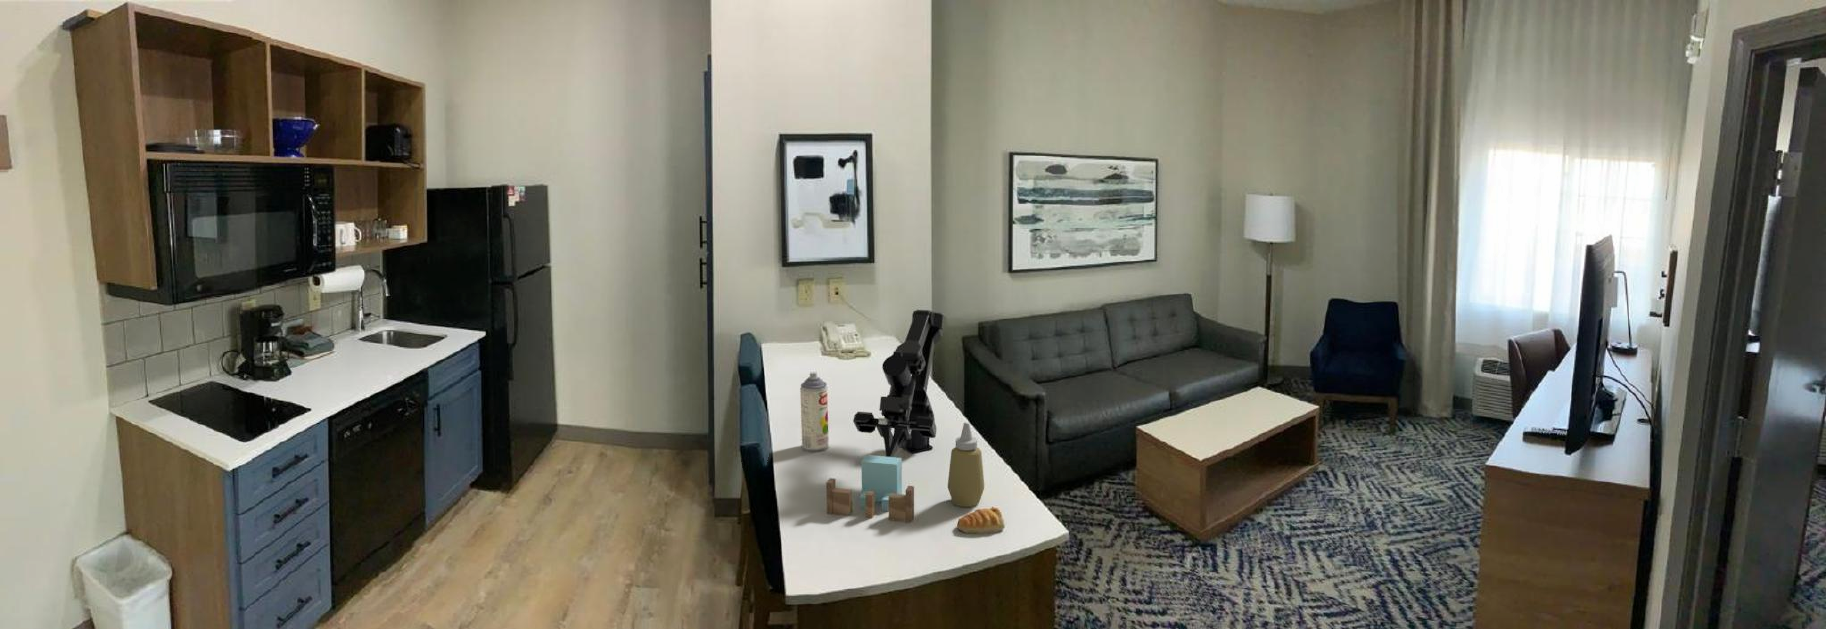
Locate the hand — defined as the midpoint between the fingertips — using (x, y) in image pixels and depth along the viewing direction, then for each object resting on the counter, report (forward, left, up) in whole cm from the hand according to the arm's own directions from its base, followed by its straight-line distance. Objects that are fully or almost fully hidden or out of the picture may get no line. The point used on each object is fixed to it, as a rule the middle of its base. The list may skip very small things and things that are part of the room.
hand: (888, 458), depth 185 cm
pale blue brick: (+5, +5, -7) cm, 10 cm away
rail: (+10, +10, -7) cm, 16 cm away
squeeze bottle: (-11, +15, -7) cm, 20 cm away
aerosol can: (+3, -33, -7) cm, 34 cm away
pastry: (-7, +27, -8) cm, 29 cm away
